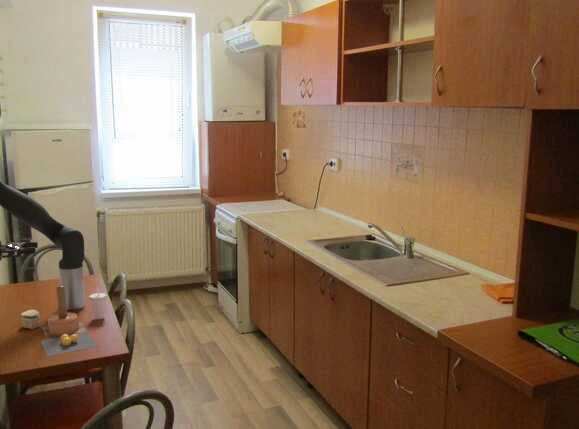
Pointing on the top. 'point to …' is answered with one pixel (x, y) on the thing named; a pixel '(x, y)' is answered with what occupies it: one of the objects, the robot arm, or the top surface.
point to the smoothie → (98, 304)
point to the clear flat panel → (49, 336)
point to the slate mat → (57, 347)
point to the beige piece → (31, 319)
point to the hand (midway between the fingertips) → (36, 247)
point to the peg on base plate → (62, 316)
